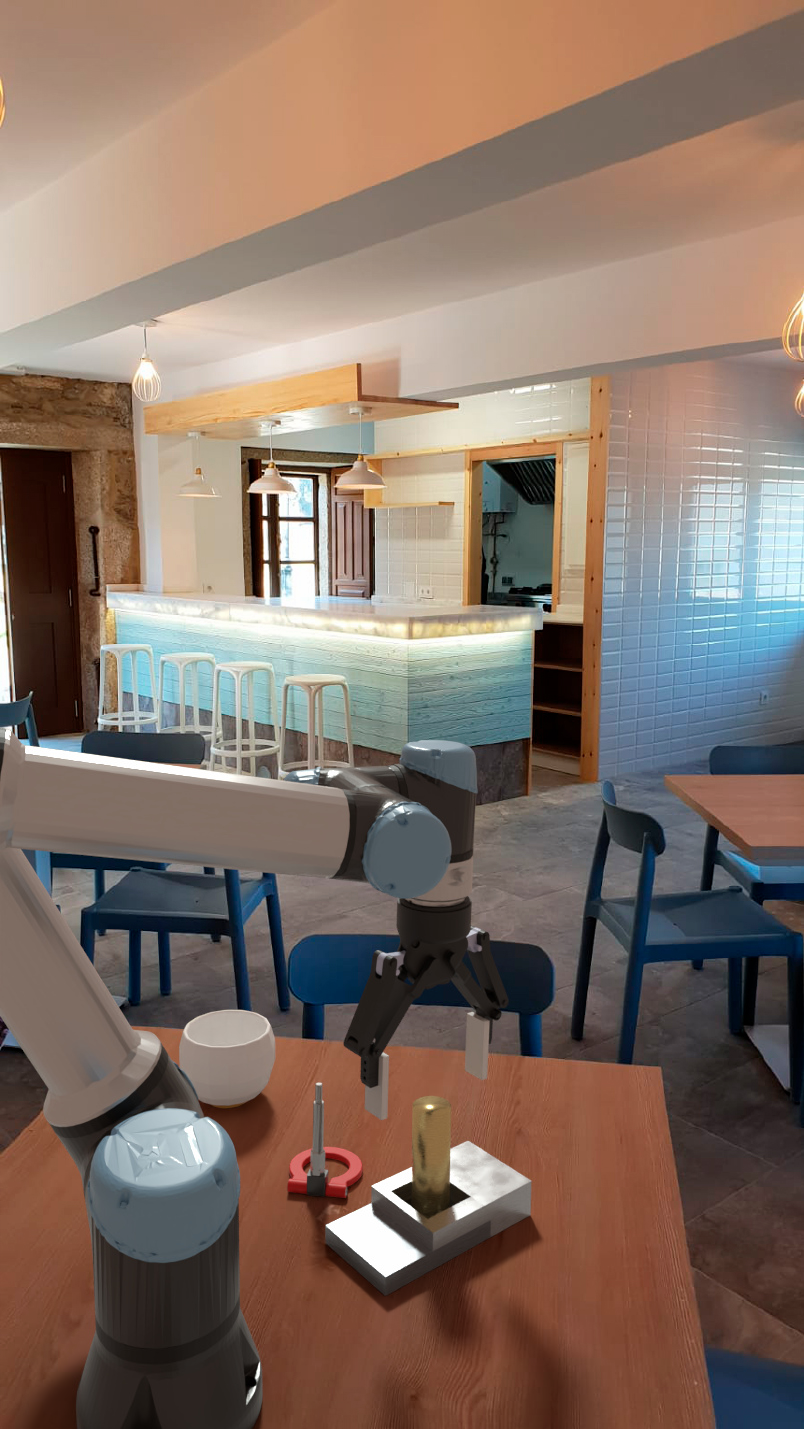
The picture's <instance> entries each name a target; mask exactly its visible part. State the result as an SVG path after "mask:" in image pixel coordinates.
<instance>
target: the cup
mask: <svg viewBox="0 0 804 1429" xmlns="http://www.w3.org/2000/svg"><path fill="white" fill-rule="evenodd" d="M178 1046H179V1047H178V1052H179V1053H178V1055H179V1056H178V1059H179V1060H178V1061H179V1067H180V1068H181V1070H183V1071H184V1072H185V1073H186V1074H187V1076H188V1077H189V1079H190V1080H191V1082H192V1084H193V1086H194V1088H195V1090H196V1093H197V1095H198V1101H200V1102H201V1103H205V1104H208V1105H211V1106H212V1107H215V1108H219V1109H232V1108H238V1107H241V1106H242V1105H245V1103H247V1102H249V1101H251V1100H253V1099H255V1098H256V1097H257V1096H259V1094H261V1093H262V1092H263V1091H264V1090H265V1088H266V1086H267V1085H268V1084H269V1083H270V1082H269V1081H270V1078H271V1074H272V1071H273V1067H274V1064H275V1061H276V1037H275V1035H274V1031H273V1028H272V1025H271V1024H270V1022H269V1020H268V1018H267V1017H265V1016H263V1015H261V1014H259V1013H258V1012H253V1011H249V1010H244V1009H223V1010H217V1011H210V1012H207V1013H205V1014H202V1015H199V1016H198V1015H197V1016H196V1017H195V1018H194V1019H192V1020H190V1021H189V1022H188V1023H186V1025H185V1026H184V1029H183V1031H182V1034H181V1038H180V1042H179V1045H178Z"/></svg>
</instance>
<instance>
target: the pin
mask: <svg viewBox="0 0 804 1429" xmlns="http://www.w3.org/2000/svg"><path fill="white" fill-rule="evenodd" d="M411 1116H412V1119H411V1121H412V1122H411V1123H412V1124H411V1125H412V1126H411V1128H412V1129H411V1133H412V1134H411V1135H412V1136H411V1138H412V1139H411V1167H412V1208H414V1209H415V1210H416V1211H417V1212H419V1213H420V1214H421V1215H423V1216H424V1217H425V1218H427V1219H429V1218H431V1217H433V1216H435V1215H436V1214H438V1213H440V1212H442V1211H444V1210H446V1209H448V1208H449V1207H450V1149H451V1144H452V1143H451V1141H452V1140H451V1139H452V1138H451V1137H452V1136H451V1134H452V1104H451V1102H450V1101H449V1100H448V1099H446V1098H444V1097H441V1096H437V1095H426V1096H421V1097H418V1098H417V1099H415V1100H414V1101H413V1103H412V1115H411Z"/></svg>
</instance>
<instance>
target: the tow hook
mask: <svg viewBox="0 0 804 1429" xmlns="http://www.w3.org/2000/svg"><path fill="white" fill-rule="evenodd" d="M314 1084H315V1087H314V1089H315V1091H314V1092H315V1094H314V1096H315V1098H314V1101H313V1103H312V1105H313V1108H312V1109H313V1110H312V1147H311V1148H309V1149H306V1150H304V1151H303V1150H302V1151H301V1152H299V1153H298V1154H296V1155H295V1156H294V1157H293V1158H292V1159H291V1160H290V1163H289V1167H288V1170H289V1177H290V1178H289V1179H288V1181H287V1186H286V1188H287V1189H286V1190H287V1192H288V1193H295V1194H303V1195H307V1196H313V1197H322V1198H326V1197H331V1198H340V1199H346V1198H347V1195H348V1191H349V1190H348V1187H350V1186H352V1185H354V1184H356V1182H358V1180H359V1179H360V1178H361V1177H362V1174H363V1171H364V1169H363V1162H362V1159H361V1158H360V1157H359V1156H358V1155H357V1154H355V1153H353V1152H352V1151H350V1150H348V1149H346V1148H340V1147H335V1146H324V1138H325V1137H324V1130H325V1128H324V1126H325V1120H324V1119H325V1101H324V1100H323V1083H322V1082H315V1083H314ZM326 1159H328V1160H329V1159H331V1160H337V1161H339V1162H342V1163H344V1164H345V1165H346V1166H347V1167H348V1170H346V1172H344V1173H343V1174H341V1175H339V1176H338V1175H337V1176H334V1177H332V1178H330V1180H329V1170H328V1169H326ZM309 1163H310V1167H309V1169H308V1171H307V1172H305V1170H304V1167H305V1166H306V1165H307V1164H309Z"/></svg>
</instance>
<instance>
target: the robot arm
mask: <svg viewBox="0 0 804 1429" xmlns="http://www.w3.org/2000/svg"><path fill="white" fill-rule="evenodd" d="M476 757H477V756H476V754H475V752H474V750H473V748H471V747H470V746H469V745H467V744H464V743H462V742H458V741H454V740H453V741H452V740H451V741H450V740H442V739H440V740H439V739H421V740H418V741H410V742H406V744H404V745H403V746H402V748H401V753H400V757H399V761H398V763H393V764H390V765H378V766H377V765H376V766H374V765H373V766H352V767H351V766H350V767H348V766H347V767H346V766H345V767H324V768H322V766H317V767H315V768H310V769H303V770H302V769H301V770H292V771H290V772H289V773H287V774H286V776H284V778H283V780H282V779H275V778H267V777H260V776H253V775H245V774H237V773H231V772H224V771H223V772H222V771H216V770H209V769H201V768H196V767H195V768H194V767H186V766H179V765H171V764H166V763H165V764H164V763H160V762H159V763H158V762H151V761H150V762H149V761H142V760H137V759H135V760H134V759H128V758H122V757H113V756H107V755H99V754H93V753H85V752H78V751H71V750H62V749H54V748H49V747H40V746H35V745H26V744H23V742H21V741H20V739H19V738H18V737H17V736H16V735H15V733H14V732H13V731H12V730H11V729H10V728H5V727H0V1018H1V1019H2V1021H3V1022H4V1024H5V1025H6V1027H7V1028H8V1030H9V1031H10V1033H11V1034H12V1036H13V1037H14V1039H15V1041H16V1042H17V1043H18V1045H19V1047H20V1048H21V1050H23V1052H24V1054H25V1056H26V1057H27V1059H28V1060H29V1061H30V1063H31V1065H32V1067H33V1068H34V1069H35V1071H36V1072H37V1074H38V1075H39V1076H40V1078H41V1079H42V1081H43V1082H44V1084H45V1086H46V1087H47V1089H48V1090H47V1093H46V1097H45V1099H44V1103H43V1107H42V1110H43V1111H42V1112H43V1116H44V1118H45V1119H46V1122H48V1124H49V1125H50V1127H51V1129H52V1130H53V1132H54V1134H55V1135H56V1136H57V1138H58V1139H59V1141H60V1142H61V1144H62V1145H63V1147H64V1148H65V1150H66V1151H67V1153H68V1155H69V1156H70V1158H72V1160H73V1162H74V1164H75V1165H76V1167H77V1169H78V1172H79V1174H80V1176H81V1178H80V1179H81V1182H82V1184H81V1185H82V1190H83V1196H84V1201H85V1202H84V1203H85V1208H86V1214H87V1215H86V1216H87V1220H88V1225H89V1226H88V1227H89V1233H90V1241H91V1254H92V1270H93V1294H94V1298H93V1299H94V1300H93V1301H94V1316H95V1318H94V1320H95V1322H94V1323H95V1332H94V1335H93V1338H92V1341H91V1344H90V1347H89V1351H88V1353H87V1358H86V1360H85V1364H84V1367H83V1371H82V1373H81V1376H80V1379H79V1383H78V1387H77V1392H76V1398H75V1412H76V1429H253V1427H254V1426H255V1424H256V1422H257V1420H258V1418H259V1415H260V1412H261V1408H262V1405H263V1404H262V1403H263V1367H262V1363H261V1358H260V1353H259V1351H258V1349H257V1347H256V1344H255V1341H254V1338H253V1336H252V1334H251V1331H250V1329H249V1326H248V1323H247V1321H246V1319H245V1316H244V1314H243V1311H242V1309H241V1297H240V1296H241V1293H240V1291H241V1290H240V1289H241V1284H240V1281H241V1280H240V1279H241V1275H240V1274H241V1273H240V1271H241V1270H240V1213H239V1212H240V1204H239V1203H240V1202H239V1201H240V1200H239V1198H240V1197H241V1174H240V1167H239V1164H238V1163H239V1162H238V1160H237V1153H236V1149H235V1145H234V1143H233V1141H232V1139H231V1137H230V1134H229V1133H228V1132H227V1131H226V1129H225V1128H224V1127H223V1126H222V1125H221V1124H219V1122H217V1121H216V1120H214V1119H212V1118H211V1117H209V1116H205V1115H204V1112H203V1110H202V1108H201V1105H200V1102H199V1099H198V1095H197V1093H196V1090H195V1088H194V1086H193V1084H192V1082H191V1080H190V1079H189V1077H188V1076H187V1074H186V1073H185V1072H184V1071H183V1070H181V1068H180V1065H179V1064H178V1063H176V1062H175V1061H174V1060H173V1059H172V1058H171V1056H170V1054H169V1053H168V1052H167V1049H166V1048H165V1047H164V1045H163V1044H162V1041H161V1040H160V1038H158V1037H157V1035H156V1034H154V1033H153V1032H151V1031H148V1030H140V1029H133V1028H132V1026H131V1025H130V1023H129V1022H128V1020H127V1018H126V1016H125V1015H124V1013H123V1012H122V1010H121V1009H120V1007H119V1005H118V1004H117V1002H116V1000H115V999H114V996H113V995H112V993H111V992H110V991H109V989H108V987H107V986H106V984H105V983H104V981H103V979H102V978H101V976H100V975H99V973H98V972H97V970H96V968H95V966H94V964H93V963H92V962H91V960H90V958H89V956H88V955H87V953H86V952H85V951H84V948H83V947H82V946H81V944H80V942H79V940H78V939H77V937H76V935H75V934H74V933H73V931H72V928H70V926H69V924H68V923H67V921H66V919H65V918H64V916H63V914H62V913H61V912H60V910H59V908H58V906H57V905H56V903H55V901H54V900H53V898H52V897H51V895H50V893H49V892H48V891H47V888H46V887H45V886H44V884H43V882H42V881H41V879H40V878H39V877H40V876H38V874H37V872H36V871H35V869H34V868H33V866H32V864H31V863H30V862H29V860H28V858H27V857H26V855H25V853H24V851H23V850H28V851H41V852H51V853H60V854H70V855H79V856H81V855H83V856H90V857H91V856H92V857H102V858H113V859H123V860H133V861H143V862H152V863H153V862H154V863H164V864H175V865H183V866H184V865H185V866H194V867H205V868H216V869H225V870H226V869H227V870H237V871H245V872H258V873H268V874H277V875H278V874H279V875H285V876H287V875H289V876H295V877H296V876H297V877H298V876H299V877H308V878H309V877H310V878H318V879H319V878H320V879H329V880H330V879H331V880H337V881H342V882H343V881H345V882H353V883H354V882H355V883H363V884H364V883H365V884H370V886H372V888H374V889H375V890H377V891H379V892H381V893H382V894H385V895H386V894H387V895H389V896H390V897H392V898H396V925H395V926H396V929H397V933H398V936H399V939H400V941H399V946H398V948H397V949H396V951H394V952H388V953H387V952H384V951H382V950H380V949H378V950H375V951H374V952H373V954H372V957H371V958H372V959H371V967H370V974H369V976H368V979H367V982H366V984H365V987H364V989H363V992H362V994H361V997H360V998H359V1002H358V1005H357V1007H356V1010H355V1012H354V1014H353V1017H352V1018H351V1019H352V1020H351V1022H350V1023H349V1027H348V1030H347V1032H346V1035H345V1037H344V1039H343V1043H342V1044H343V1047H344V1048H345V1049H347V1050H348V1051H351V1052H352V1053H353V1054H355V1055H357V1056H358V1057H360V1075H359V1076H360V1077H359V1078H360V1082H361V1083H362V1084H363V1085H364V1110H366V1111H367V1112H368V1113H370V1114H371V1115H372V1116H375V1117H376V1118H377V1119H379V1120H380V1121H383V1120H385V1119H388V1111H389V1110H388V1103H389V1101H388V1100H389V1075H390V1074H389V1073H390V1072H389V1071H390V1070H389V1069H390V1068H389V1067H390V1055H388V1054H387V1053H385V1052H384V1051H385V1050H386V1048H387V1046H388V1044H389V1042H390V1041H391V1039H392V1038H393V1036H394V1034H395V1032H396V1031H397V1029H398V1027H399V1026H400V1024H401V1022H402V1021H403V1019H404V1017H405V1016H406V1014H407V1012H408V1011H409V1009H410V1008H411V1005H412V1004H413V1002H414V1001H415V1000H416V999H419V998H420V997H421V996H422V993H423V992H424V991H425V990H431V989H433V988H435V987H436V986H438V985H446V984H450V982H452V983H453V985H454V986H455V987H456V989H457V991H459V993H460V994H461V995H462V996H463V998H464V999H465V1001H466V1002H467V1003H468V1004H469V1005H470V1007H471V1008H472V1009H473V1010H474V1011H475V1012H474V1011H471V1012H467V1013H466V1028H465V1029H466V1032H465V1055H464V1056H465V1058H464V1071H465V1072H467V1073H468V1074H470V1075H472V1076H473V1077H475V1078H477V1079H479V1080H480V1081H483V1080H486V1079H488V1067H489V1066H488V1064H489V1063H488V1062H489V1045H490V1044H491V1043H492V1040H493V1025H494V1024H493V1023H494V1022H493V1021H496V1022H497V1021H499V1020H500V1019H501V1018H502V1010H501V1009H506V1008H507V1007H508V1005H509V1002H510V1001H509V997H508V995H507V992H506V989H505V986H504V983H503V981H502V979H501V975H500V973H499V971H498V968H497V965H496V963H495V960H494V957H493V954H492V952H491V942H490V940H491V939H490V937H491V936H490V933H489V932H488V931H485V930H484V929H481V928H479V927H476V926H474V925H472V908H473V907H472V906H473V902H472V901H473V900H472V899H471V898H470V897H469V895H472V894H471V893H472V891H473V877H474V876H473V872H474V842H475V827H476V826H475V823H476V822H475V821H476V804H477V803H476V802H477V794H479V792H478V779H477V778H478V776H477V775H478V770H477V768H478V767H477V759H476ZM466 953H467V954H468V957H469V960H470V963H471V964H472V967H473V970H474V972H475V973H474V974H476V978H477V980H478V982H479V984H478V982H476V980H475V979H474V977H473V976H472V972H471V971H470V969H469V968H468V967H467V966H466V964H465V963H464V961H463V959H464V957H465V954H466ZM407 979H408V981H409V982H410V983H411V984H409V983H406V980H407ZM500 1008H501V1009H500ZM374 1040H375V1041H374Z"/></svg>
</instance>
